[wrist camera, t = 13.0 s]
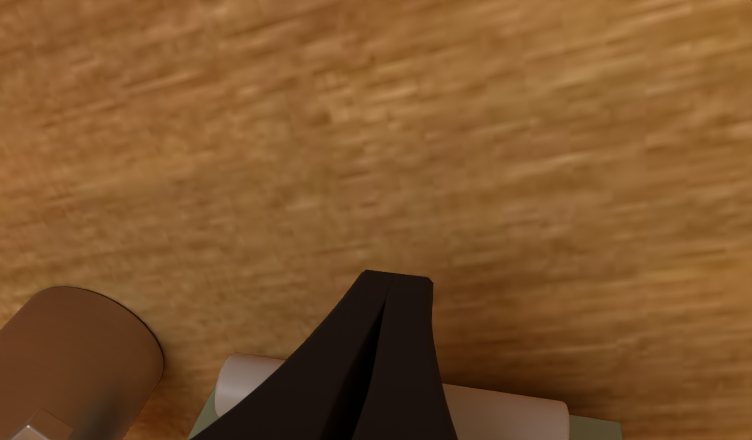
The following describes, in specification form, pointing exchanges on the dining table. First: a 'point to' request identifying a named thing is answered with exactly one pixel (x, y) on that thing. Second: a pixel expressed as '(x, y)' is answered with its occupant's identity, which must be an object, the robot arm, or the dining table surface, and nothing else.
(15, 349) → the measuring cup
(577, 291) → the dining table surface
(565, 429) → the drawer
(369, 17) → the dining table surface
